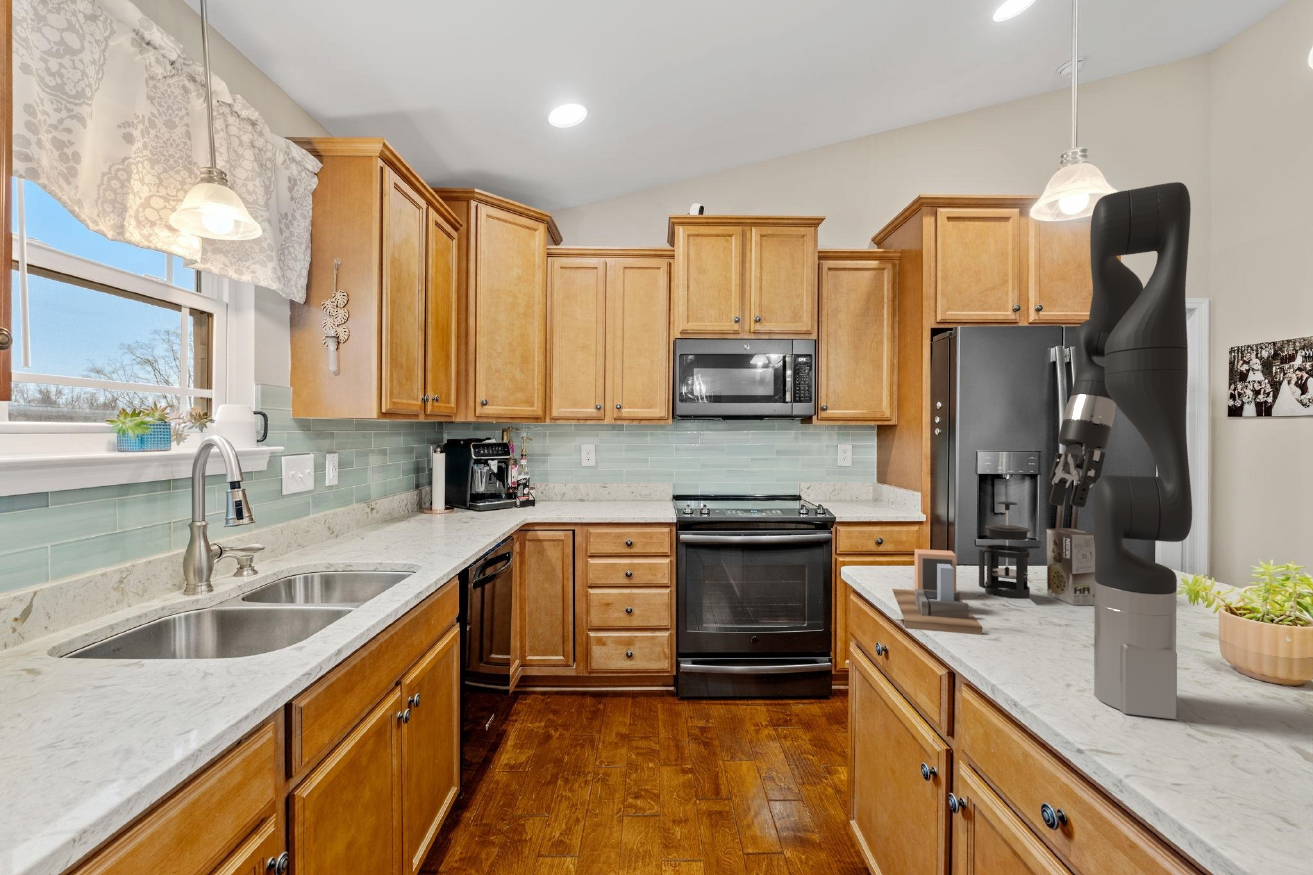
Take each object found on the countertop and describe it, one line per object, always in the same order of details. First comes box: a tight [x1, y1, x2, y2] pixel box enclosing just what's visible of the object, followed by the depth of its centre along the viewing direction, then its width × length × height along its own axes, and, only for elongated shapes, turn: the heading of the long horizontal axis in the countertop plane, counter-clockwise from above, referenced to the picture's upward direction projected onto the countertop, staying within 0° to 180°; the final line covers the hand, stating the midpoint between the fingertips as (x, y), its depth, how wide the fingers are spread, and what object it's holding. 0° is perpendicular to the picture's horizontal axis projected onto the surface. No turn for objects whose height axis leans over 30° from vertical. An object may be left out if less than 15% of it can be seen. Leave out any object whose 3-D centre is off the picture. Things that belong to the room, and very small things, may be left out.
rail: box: [891, 588, 983, 635], centre depth 126 cm, size 24×14×4 cm, turn 163°
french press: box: [978, 500, 1031, 600], centre depth 135 cm, size 12×9×23 cm
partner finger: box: [914, 548, 957, 593], centre depth 133 cm, size 6×8×10 cm
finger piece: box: [928, 564, 959, 609], centre depth 122 cm, size 5×6×10 cm
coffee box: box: [1046, 527, 1095, 606], centre depth 134 cm, size 9×6×16 cm
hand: (1065, 505), depth 108 cm, fingers open, 8 cm apart
